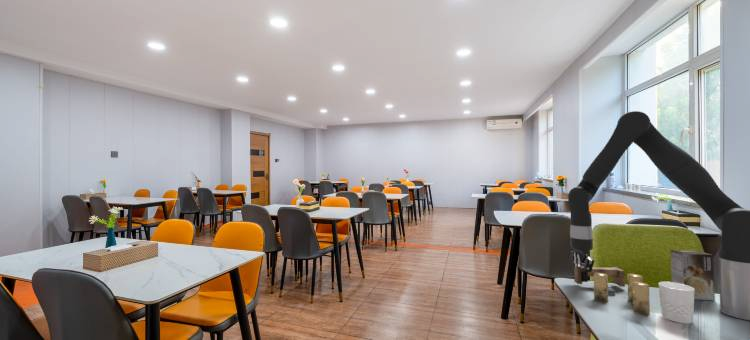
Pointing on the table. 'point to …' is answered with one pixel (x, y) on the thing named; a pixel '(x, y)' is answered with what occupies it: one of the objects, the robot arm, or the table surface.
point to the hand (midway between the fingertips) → (582, 279)
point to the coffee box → (694, 272)
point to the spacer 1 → (600, 287)
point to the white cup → (677, 302)
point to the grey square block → (611, 291)
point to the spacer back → (641, 298)
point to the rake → (613, 272)
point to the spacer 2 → (632, 279)
